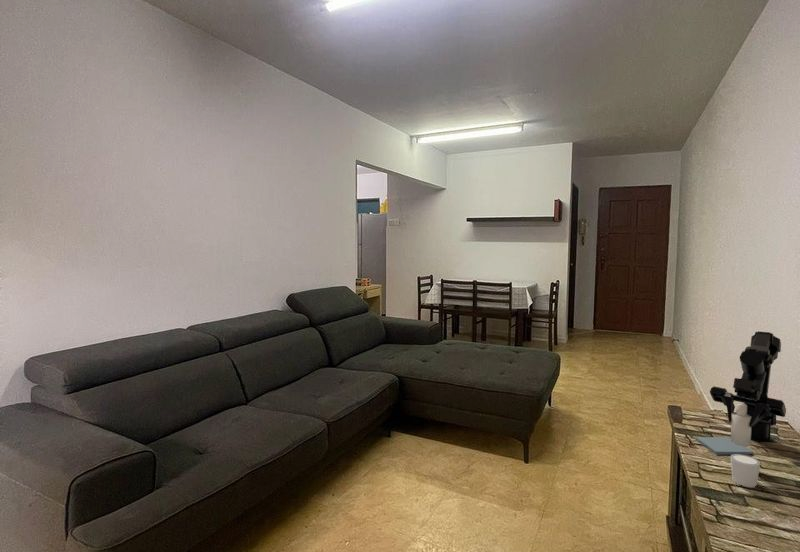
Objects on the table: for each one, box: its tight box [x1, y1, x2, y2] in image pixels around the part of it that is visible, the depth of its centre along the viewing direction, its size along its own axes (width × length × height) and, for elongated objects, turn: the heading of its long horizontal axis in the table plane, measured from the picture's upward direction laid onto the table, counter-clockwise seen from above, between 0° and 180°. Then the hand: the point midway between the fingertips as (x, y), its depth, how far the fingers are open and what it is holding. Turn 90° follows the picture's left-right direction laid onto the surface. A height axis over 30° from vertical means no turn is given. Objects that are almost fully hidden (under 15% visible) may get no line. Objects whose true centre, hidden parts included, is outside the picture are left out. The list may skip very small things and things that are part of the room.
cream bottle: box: [730, 402, 752, 447], centre depth 137 cm, size 5×5×12 cm
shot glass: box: [730, 454, 761, 488], centre depth 127 cm, size 7×7×7 cm
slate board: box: [695, 436, 754, 456], centre depth 149 cm, size 12×11×1 cm
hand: (739, 423), depth 136 cm, fingers closed on cream bottle, 5 cm apart
